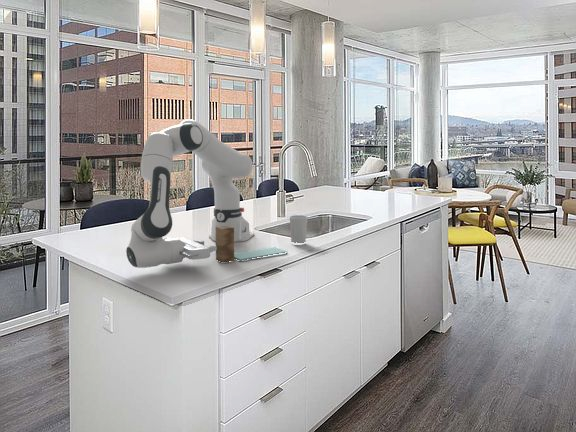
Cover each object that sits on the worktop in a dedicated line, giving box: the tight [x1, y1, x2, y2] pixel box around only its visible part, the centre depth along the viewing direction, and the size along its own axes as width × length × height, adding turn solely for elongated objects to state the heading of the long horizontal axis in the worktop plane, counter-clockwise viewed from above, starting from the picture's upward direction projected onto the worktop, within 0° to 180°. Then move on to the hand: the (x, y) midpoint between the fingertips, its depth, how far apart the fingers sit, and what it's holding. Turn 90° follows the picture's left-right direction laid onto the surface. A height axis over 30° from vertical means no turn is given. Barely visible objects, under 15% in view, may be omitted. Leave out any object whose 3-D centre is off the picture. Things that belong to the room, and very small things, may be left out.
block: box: [215, 225, 235, 263], centre depth 191 cm, size 5×5×13 cm
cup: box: [289, 214, 309, 243], centre depth 221 cm, size 8×8×12 cm
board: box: [234, 246, 288, 262], centre depth 201 cm, size 22×9×1 cm, turn 126°
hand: (209, 245), depth 187 cm, fingers open, 8 cm apart
